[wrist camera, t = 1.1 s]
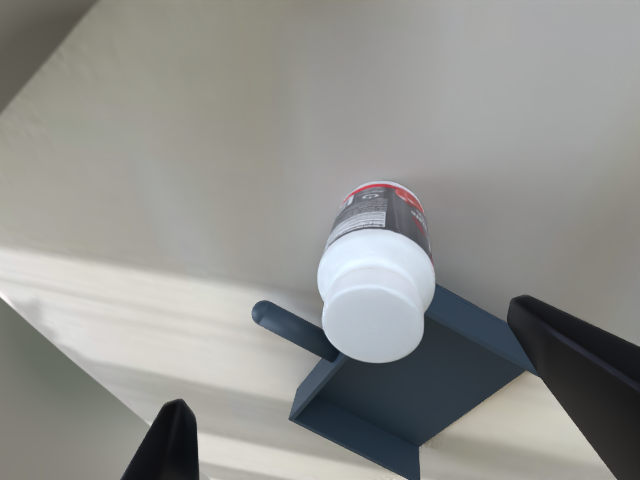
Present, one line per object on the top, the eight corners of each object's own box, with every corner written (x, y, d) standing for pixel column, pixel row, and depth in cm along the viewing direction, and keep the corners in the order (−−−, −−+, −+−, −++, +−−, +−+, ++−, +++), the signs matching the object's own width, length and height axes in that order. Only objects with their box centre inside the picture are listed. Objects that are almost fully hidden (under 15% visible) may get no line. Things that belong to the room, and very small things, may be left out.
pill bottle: (439, 237, 22) (465, 360, 13) (362, 266, 24) (343, 387, 16) (402, 162, 20) (406, 249, 12) (322, 200, 22) (277, 298, 14)
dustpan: (550, 347, 24) (571, 389, 21) (416, 444, 32) (417, 484, 29) (306, 211, 23) (292, 236, 20) (229, 349, 31) (212, 381, 28)
